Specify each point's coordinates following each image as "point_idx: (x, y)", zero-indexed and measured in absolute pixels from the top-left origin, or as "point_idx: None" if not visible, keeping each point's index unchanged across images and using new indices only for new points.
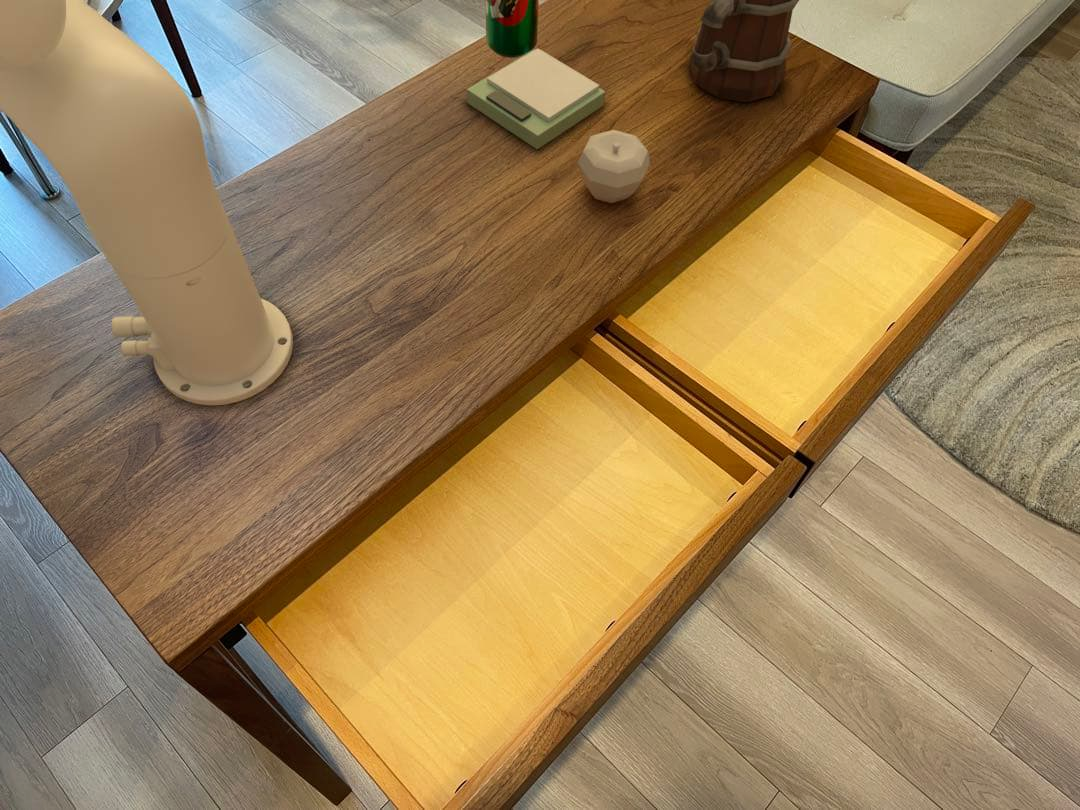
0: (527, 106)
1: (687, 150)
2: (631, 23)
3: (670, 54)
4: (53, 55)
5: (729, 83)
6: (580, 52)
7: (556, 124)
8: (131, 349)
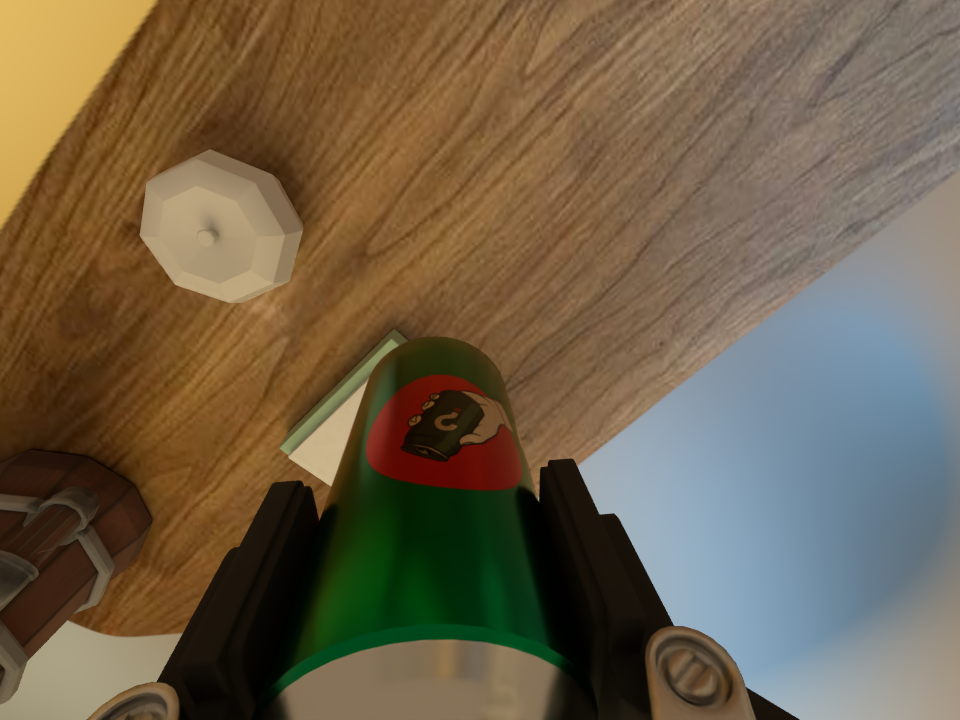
0: None
1: (123, 333)
2: None
3: (189, 545)
4: None
5: (50, 475)
6: None
7: (359, 368)
8: None
